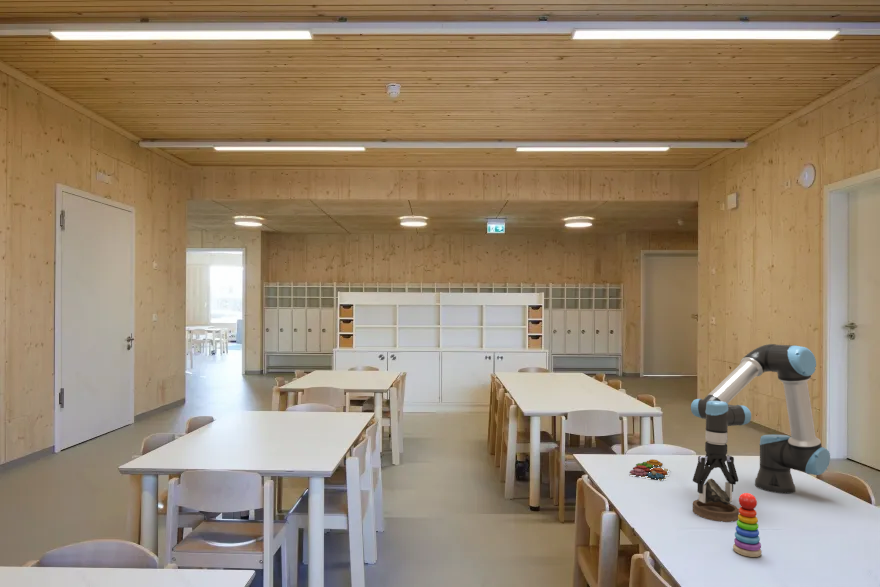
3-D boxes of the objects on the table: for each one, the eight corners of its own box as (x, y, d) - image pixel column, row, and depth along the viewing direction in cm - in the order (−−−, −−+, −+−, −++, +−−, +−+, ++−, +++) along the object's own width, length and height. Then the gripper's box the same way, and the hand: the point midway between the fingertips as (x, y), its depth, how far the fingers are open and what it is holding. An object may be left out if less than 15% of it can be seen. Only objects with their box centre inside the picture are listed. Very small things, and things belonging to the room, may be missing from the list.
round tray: (718, 505, 220) (718, 498, 220) (748, 520, 205) (748, 512, 205) (684, 507, 217) (684, 500, 217) (711, 522, 202) (711, 514, 202)
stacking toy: (727, 547, 181) (728, 489, 181) (751, 547, 182) (751, 489, 182) (742, 558, 173) (743, 497, 174) (767, 558, 174) (767, 497, 174)
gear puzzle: (640, 462, 285) (640, 454, 285) (674, 467, 277) (674, 459, 277) (628, 477, 258) (628, 468, 258) (665, 483, 250) (665, 474, 250)
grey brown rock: (736, 506, 205) (723, 481, 206) (712, 516, 206) (699, 491, 207) (726, 496, 215) (714, 472, 216) (704, 505, 217) (691, 481, 218)
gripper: (735, 439, 218) (734, 496, 217) (682, 440, 213) (681, 499, 212) (749, 444, 211) (749, 503, 210) (695, 445, 206) (694, 506, 205)
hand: (715, 501), depth 211 cm, fingers closed on grey brown rock, 11 cm apart
